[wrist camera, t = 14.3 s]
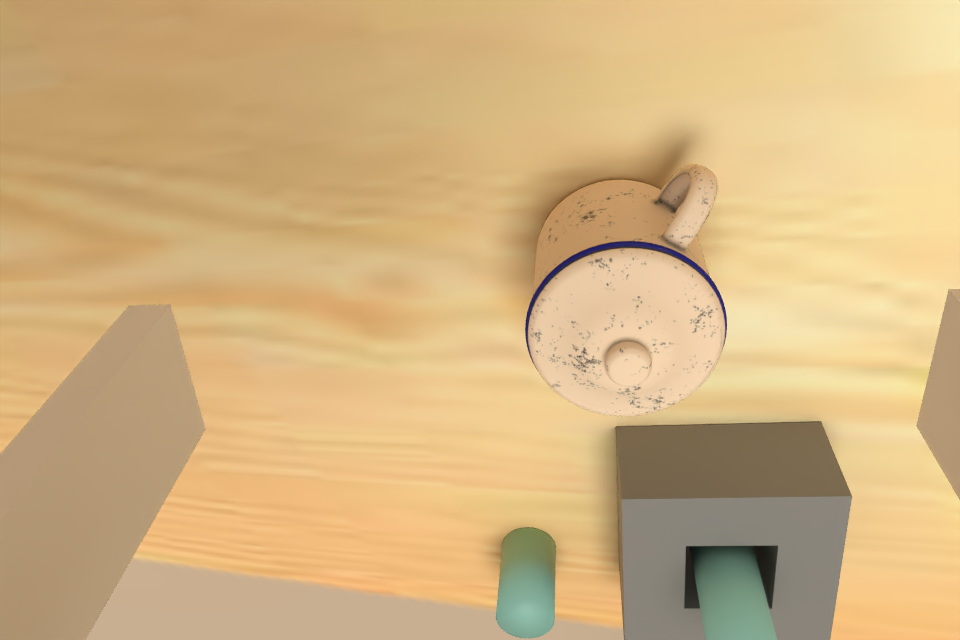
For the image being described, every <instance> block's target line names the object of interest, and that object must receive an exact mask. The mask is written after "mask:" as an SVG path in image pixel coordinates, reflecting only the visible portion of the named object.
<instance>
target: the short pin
mask: <svg viewBox="0 0 960 640" xmlns="http://www.w3.org/2000/svg"><path fill="white" fill-rule="evenodd" d="M555 561H556V546H555V542H554V540H553V539H552V538H551V536H550V535H548V534H547V533H546V532H544V531H542V530H539V529H536V528H520V529H516V530H514V531H512V532H510V533H509V534H508V535H507V536H506V537H505V539H504V541H503V545H502V556H501V567H500V578H499V589H498V600H497V611H496V620H497V623H498V625H499V626H500V627H501V629H503V630H504V631H506V632H507V633H508V634H510V635H513V636H515V637H519V638H535V637H539V636H542V635H544V634H546V633H547V632H548V631H550V630H551V628H552V627H553V625H554V618H555Z"/></svg>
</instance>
